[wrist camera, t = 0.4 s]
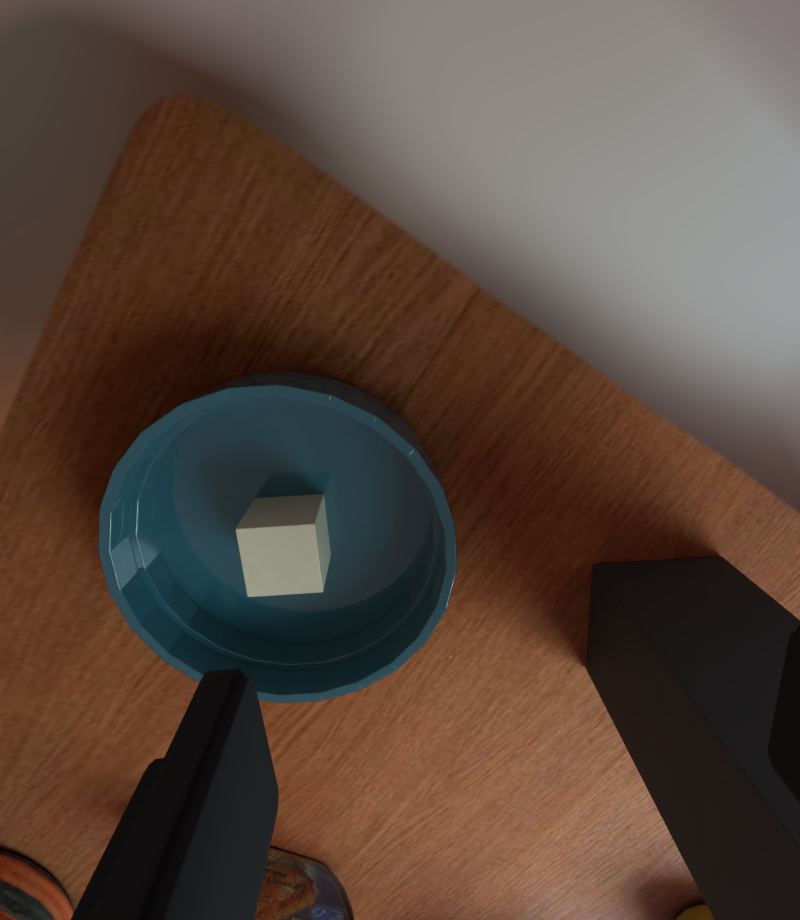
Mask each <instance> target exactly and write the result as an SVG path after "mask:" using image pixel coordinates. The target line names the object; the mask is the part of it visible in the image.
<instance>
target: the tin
mask: <svg viewBox="0 0 800 920" xmlns="http://www.w3.org/2000/svg"><path fill="white" fill-rule="evenodd" d="M254 920H354V916H353V911H352V907H351V904H350V901H349V898H348V896H347V893H346V891H345V890H344V888H343V886H342V884H341V883H340V881H339V880H338V879H337V877H336V876H335V875H334V874H333V873H332V872H331V871H330V870H329V869H328V868H326V867H325V866H324V865H322V864H321V863H319V862H317V861H315V860H312V859H309V858H305V857H302V856H298V855H295V854H291V853H288V852H284V851H281V850H278V849H274V848H271V847H270V848H269V853H268V858H267V862H266V867H265V872H264V876H263V881H262V886H261V891H260V895H259V900H258V905H257V909H256V914H255V919H254Z"/></svg>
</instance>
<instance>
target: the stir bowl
mask: <svg viewBox="0 0 800 920" xmlns="http://www.w3.org/2000/svg"><path fill="white" fill-rule="evenodd" d="M314 494H324V499H325V507H326V516H327V525H328V533H329V542H330V551H331V557H330V562H329V566H328V571H327V576H326V580H325V585H324V590H323V592H320V593H304V594H288V595H272V596H256V597H248V596H247V591H246V585H245V580H244V574H243V569H242V563H241V557H240V552H239V546H238V541H237V535H236V527H237V526H238V524H239V523H240V521H241V519H242V518H243V516H244V515H245V513H246V511H247V510H248V508H249V507H250V505H251V504H252V502H253V500H254V499H255V498H266V497H282V496H298V495H314ZM99 556H100V560H101V563H102V567H103V571H104V574H105V578H106V581H107V585H108V589H109V592H110V594H111V596H112V597H113V599H114V601H115V602H116V604H117V606H118V607H119V609H120V611H121V612H122V614H123V616H124V617H125V619H126V621H127V622H128V624H129V626H130V627H131V629H132V630H133V631H134V632H135V633H136V634H137V635H138V636H139V637H140V638H141V639H142V640H143V641H144V642H145V643H146V644H147V645H148V646H149V647H150V648H151V649H152V650H153V651H154V652H155V653H156V654H157V655H158V656H159V657H160V658H161V659H162V660H164V661H165V662H167V663H168V664H170V665H172V666H173V667H175V668H176V669H178V670H179V671H181V672H183V673H184V674H186V675H187V676H189V677H191V678H192V679H194V680H195V681H197V682H198V681H199V683H200V681H201V679H202V677H203V675H204V674H205V673H206V672H207V671H213V670H225V669H241V670H242V672H243V674H244V677H248V676H251V677H252V678H253V679H254V682H255V687H256V691H257V696H258V700H261V701H268V702H275V703H293V702H309V701H322V700H327V699H330V698H334V697H337V696H341V695H344V694H348V693H351V692H355V691H358V690H361V689H363V688H365V687H367V686H369V685H371V684H372V683H374V682H376V681H378V680H380V679H381V678H383V677H385V676H387V675H389V674H390V673H392V672H394V671H396V670H397V669H398V668H399V667H401V666H402V665H403V664H404V663H405V662H406V661H407V660H408V659H409V658H410V657H411V656H412V655H413V654H414V653H415V652H417V651H418V650H419V649H420V648H421V647H422V646H423V645H424V644H425V643H426V642H427V640H428V638H429V637H430V635H431V634H432V632H433V630H434V629H435V627H436V625H437V624H438V622H439V620H440V619H441V617H442V616H443V614H444V612H445V611H446V608H447V606H448V602H449V598H450V595H451V591H452V587H453V584H454V580H455V576H456V573H457V546H456V527H455V523H454V520H453V516H452V512H451V509H450V505H449V501H448V498H447V495H446V492H445V489H444V486H443V483H442V480H441V476H440V473H439V470H438V467H437V464H436V462H435V460H434V459H433V457H432V456H431V454H430V453H429V451H428V450H427V448H426V447H425V445H424V444H423V442H422V441H421V439H420V438H419V436H418V435H417V434H416V432H415V431H414V429H413V428H412V427H411V426H410V425H409V424H408V423H406V422H405V421H404V420H403V419H402V418H401V417H399V416H398V415H397V414H396V413H395V412H394V411H393V410H391V409H390V408H389V407H388V406H387V405H386V404H384V403H383V402H382V401H381V400H379V399H378V398H376V397H374V396H372V395H370V394H367V393H365V392H363V391H361V390H359V389H357V388H355V387H353V386H351V385H349V384H347V383H345V382H343V381H341V380H337V379H332V378H327V377H322V376H317V375H312V374H307V373H302V372H297V371H295V372H294V371H285V372H270V373H254V374H247V375H244V376H242V377H239V378H236V379H233V380H230V381H227V382H224V383H221V384H218V385H216V386H213V387H210V388H208V389H206V390H204V391H202V392H201V393H199V394H197V395H195V396H194V397H192V398H190V399H188V400H187V401H185V402H183V403H181V404H180V405H178V406H177V407H175V408H174V409H173V410H171V411H170V412H168V413H167V414H165V415H164V416H163V417H161V418H160V419H158V420H157V421H156V422H154V423H153V424H151V425H150V426H149V427H147V428H146V429H144V430H143V431H142V432H141V433H140V434H139V435H138V437H137V438H136V439H135V441H134V442H133V443H132V445H131V446H130V447H129V448H128V450H127V451H126V452H125V454H124V455H123V456H122V458H121V459H120V460H119V462H118V463H117V464H116V466H115V467H114V469H113V472H112V474H111V477H110V480H109V483H108V486H107V489H106V492H105V495H104V497H103V500H102V503H101V506H100V512H99Z"/></svg>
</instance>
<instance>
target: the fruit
mask: <svg viewBox="0 0 800 920" xmlns="http://www.w3.org/2000/svg"><path fill="white" fill-rule="evenodd" d="M675 920H714V918H713V916H712V914H711V912H710V910H709V908H708V906H707V905H697V906H694V907H691V908H689V909H686V910H685V911H684V912H683V913H682V914H680V915H679V916H678V917H677V918H676V919H675Z"/></svg>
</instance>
